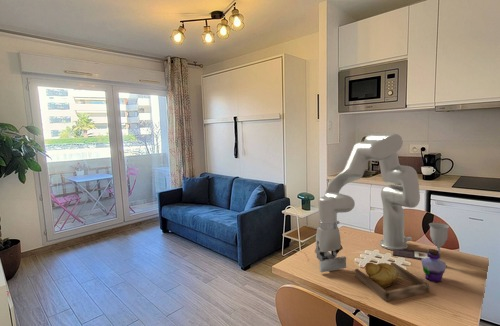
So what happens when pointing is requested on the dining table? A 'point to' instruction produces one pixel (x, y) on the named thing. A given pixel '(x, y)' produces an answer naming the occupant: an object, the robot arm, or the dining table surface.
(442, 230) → the chalice
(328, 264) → the grey t-shaped block
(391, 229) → the robot arm
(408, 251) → the chocolate bar
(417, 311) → the dining table surface
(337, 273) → the dining table surface
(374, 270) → the bread roll
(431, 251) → the potion bottle
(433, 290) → the dining table surface
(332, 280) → the dining table surface
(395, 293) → the walnut frame
